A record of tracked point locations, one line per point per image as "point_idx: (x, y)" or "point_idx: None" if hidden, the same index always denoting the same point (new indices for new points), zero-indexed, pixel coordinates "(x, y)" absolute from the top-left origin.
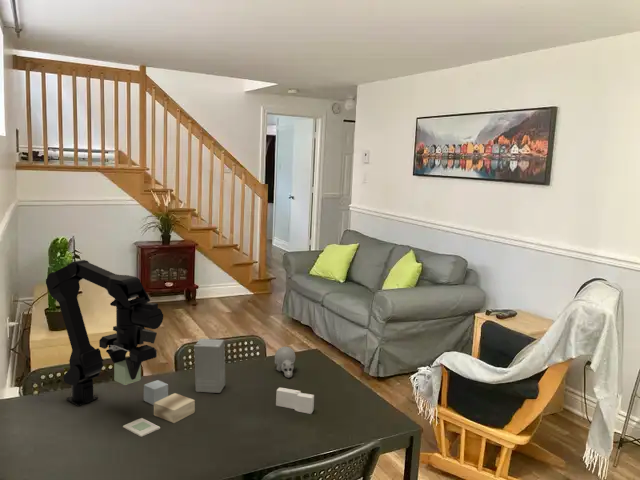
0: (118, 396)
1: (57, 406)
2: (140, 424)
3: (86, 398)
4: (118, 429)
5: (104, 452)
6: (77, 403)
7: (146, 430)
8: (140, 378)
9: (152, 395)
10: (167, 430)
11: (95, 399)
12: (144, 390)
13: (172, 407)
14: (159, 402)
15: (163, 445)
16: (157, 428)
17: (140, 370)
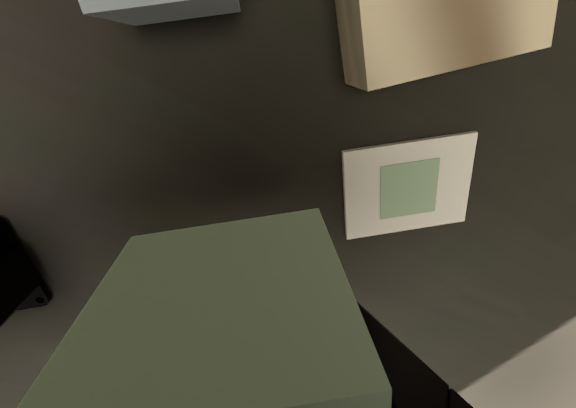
0: (3, 120)
1: (18, 346)
2: (395, 187)
3: (28, 288)
4: (348, 253)
5: (439, 325)
6: (36, 303)
7: (451, 190)
8: (320, 217)
9: (218, 6)
10: (511, 114)
11: (10, 231)
12: (114, 17)
13: (515, 31)
14: (391, 58)
15: (572, 186)
16: (474, 146)
17: (347, 279)
